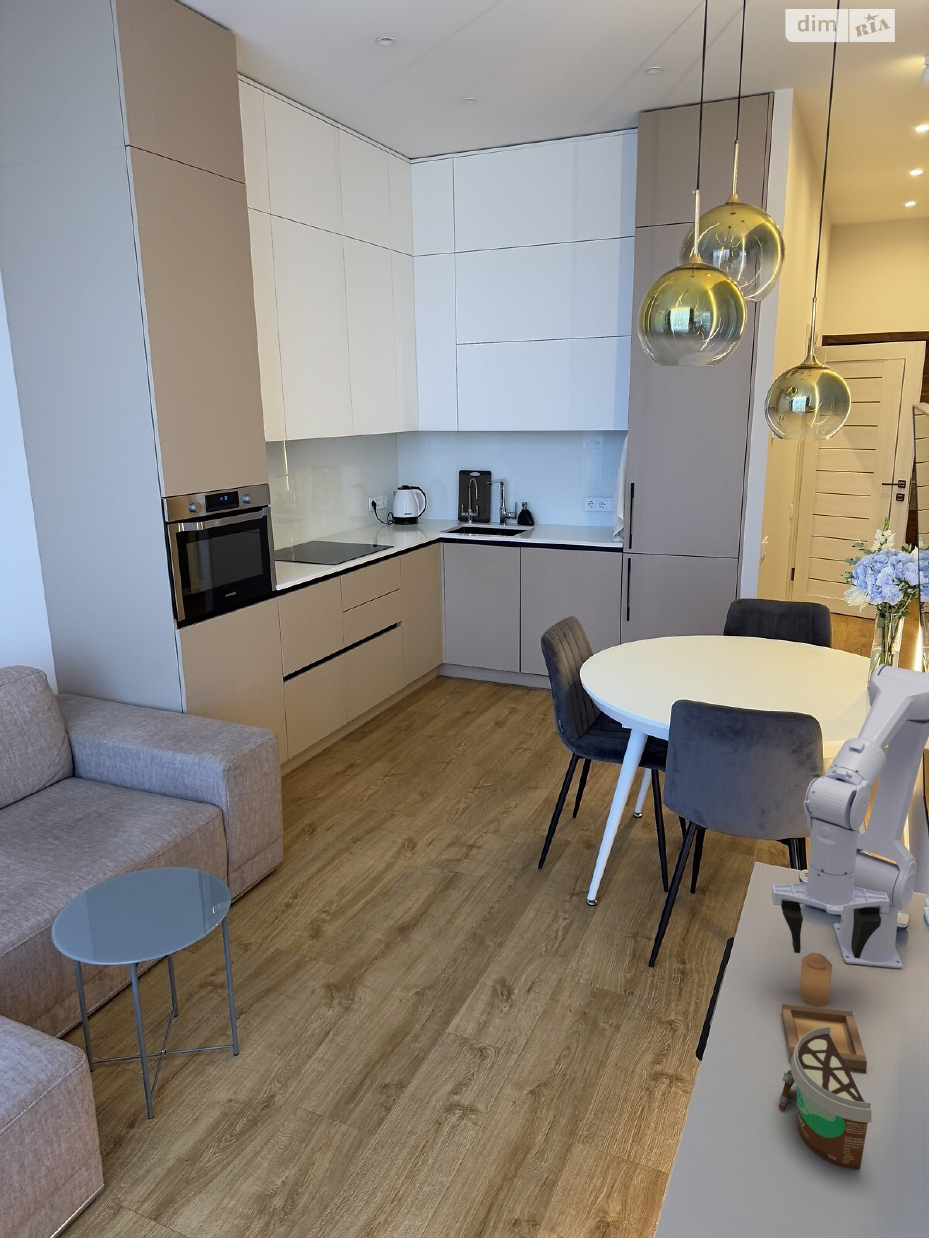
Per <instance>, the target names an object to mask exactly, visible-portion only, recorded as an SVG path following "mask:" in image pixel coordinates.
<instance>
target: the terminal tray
mask: <svg viewBox="0 0 929 1238" xmlns="http://www.w3.org/2000/svg"><path fill="white" fill-rule="evenodd" d="M781 1019H782V1021H781V1022H782V1027H783V1031H784V1036H785V1041H786V1042H785V1043H786V1047H787V1053H788V1054H787V1055H788V1059H789V1064H790V1063H791V1058H792V1055H793V1052H794V1050H795V1047H796V1045H797V1043H798V1042H799V1041H800V1039H801V1038H802V1037H803V1036H804V1035H805V1034H806V1033H808V1032H810V1031H812V1030H814V1029H817V1028H822V1027H830V1037H831V1039H832V1041H833V1043H834V1044H835V1046H836V1048H837V1050H838V1052H839V1054H840V1055H841V1057H842V1059H843V1060H844V1062H845V1063H846V1065H847V1067H848V1069H849V1071H850V1073H851V1072H854V1073H860V1074H867V1066H868V1060H867V1057H866V1054H865V1050H864V1047H863V1044H862V1039H861V1036H860V1033H859V1030H858V1027H857V1023H856V1019H855V1017H854V1013H853V1011H850V1010H843V1009H842V1010H840V1009H835V1008H833V1009H832V1008H824V1007H815V1006H807V1005H796V1004H787V1003H782V1004H781Z"/></svg>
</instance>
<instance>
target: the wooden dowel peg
mask: <svg viewBox="0 0 929 1238" xmlns="http://www.w3.org/2000/svg"><path fill="white" fill-rule="evenodd" d="M800 961H801V964H800V978H799V991H798V992H799V993H798V994H799V997H800V999H801V1000H802V1001H803V1002H804V1003H805V1004H807V1005H809V1006H810V1007H816V1008H824V1007H826V1006H827V1005H829V1003H830V1001H831V989H832V988H831V987H832V974H833V964H832V962H831V960H829V959H828V958H827V957H826V956H824V955H823V954H821V953H818V952H812V953H808V954H807V955H804V956H803V957H802V958H801V960H800Z"/></svg>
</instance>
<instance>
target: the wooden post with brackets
mask: <svg viewBox="0 0 929 1238" xmlns="http://www.w3.org/2000/svg"><path fill="white" fill-rule="evenodd" d="M782 1081H783V1082H784V1085H783V1089H782V1092H781V1094H780V1095H779V1096H780V1097H779V1102H778V1107H779V1108H780V1109H782V1110H785V1109H786V1106H787V1104H788V1102H789V1103H792V1104H793V1103H794V1101H797V1091H794V1090H793V1089H792V1087H793V1084H796V1083H795V1081H794V1079H793V1076H792V1073H791V1069H789V1070H787V1072H783V1077H782Z"/></svg>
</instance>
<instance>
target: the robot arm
mask: <svg viewBox="0 0 929 1238" xmlns="http://www.w3.org/2000/svg"><path fill="white" fill-rule="evenodd" d="M867 692H868V697H869V706H870V708H869V711H868V714H867V715H866V718H865V720H864V722H863V724H862V727H861V729H860V731H859V733H858V736H857V737H852V738H851V737H850V738H848V739H847V740H845V741H844V743H843V744H842V746H841V748H840V749H839V751H838V752H837V754H836V756H835V757H834V759H833V760H832V762H831V764H830V766H829V767H828V769H827V770H826V772H825V774H824V775H822V776H820V777H815V778H813V779H812V780H811V781H810V783H809V784H808V787H807V790H806V792H805V796H804V801H803V811H804V814H805V816H806V827H807V829H808V830H809V831H810V833H809V834H810V836H809V838H810V839H809V853H808V866H807V867H808V869H807V881H804V882H802V881H801V882H797V883H789V884H772V886H771V899H772V904H773V905H775V906H780V907H781V911H782V914H783V917H784V919H785V922H786V923H787V926H788V928H789V930H790V933H791V941H792V942H791V943H792V948H793V952H794V954H801V949H802V948H801V945H802V944H801V932H802V926H803V920H804V918H803V913H802V908H801V905H808V906H811V907H815V908H819V909H823V910H825V912H826V913H827V914H830V915H840V923H838V922H836V923H834V924H833V928H834V929H833V930H834V932H835V935H836V938H837V943H838V945H839V948H840V951H841V954H842V957H843V960H844V962H845V963H846V964H852V965H861V966H862V965H863V966H873V967H883V968H892V969H903V965H904V964H903V962H902V959H901V957H900V955H899V952H898V950H897V948H896V940H897V929H898V918H899V911H901V910H903V909H904V908H906V907H907V906H908V905H909V903H910V901H911V899H912V896H913V893H914V892H915V891H914V890H915V886H916V873H917V868H918V864H917V860H916V858H915V856H914V855H913V854H912V853H911V852H910V851H909V850H908V848H907V847H906V845H905V844H904V843H903V841H902V837H903V834H904V830H905V825H906V822H907V817H908V813H909V810H910V805H911V802H912V798H913V794H914V790H915V785H916V782H917V779H918V774H919V770H920V766H921V762H922V758H923V754H924V752H925V751H924V750H925V747H926V744H927V741H928V739H929V672H925V671H924V672H923V671H919V670H914V669H913V670H912V669H909V668H908V669H907V668H902V667H897V666H892V665H888V664H886V663H881V664H879V665H878V666H876V667H875V668H874V669H873V672H872V673H871V675H870V679H869V683H868V691H867ZM885 749H886V751H885ZM884 751H885V752H884ZM878 778H879V779H878ZM877 780H878V782H877ZM876 782H877V786H876V790H875V793H874V794H875V795H874V798H873V802H872V807H871V810H870V815H869V818H868V822H867V826H866V830H865V832H862V833H859V829H860V827H861V826H862V824H863V823H864V821H865V818H866V816H867V812H868V808H869V805H870V802H871V799H872V793H871V790H872V789H873V787H874V786H875V783H876ZM863 851H865V852H868V853H871V854H873V855H871V854H868V853H865V852H863ZM874 855H877V856H880V857H883V858H886V859H888V860H891V861H892V862H891V861H888V860H886V859H883V858H880V857H877V856H874ZM893 861H894V862H893Z"/></svg>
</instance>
